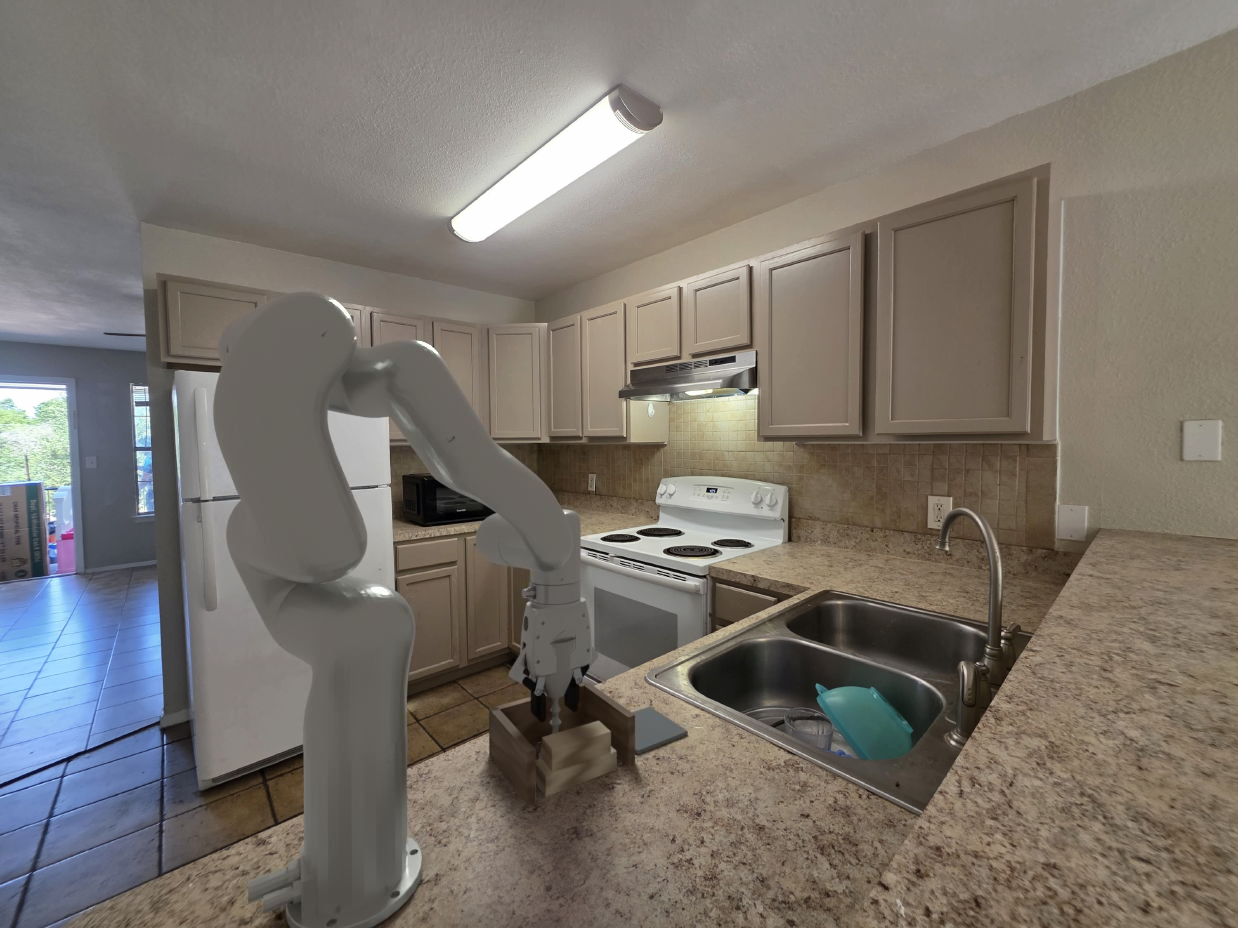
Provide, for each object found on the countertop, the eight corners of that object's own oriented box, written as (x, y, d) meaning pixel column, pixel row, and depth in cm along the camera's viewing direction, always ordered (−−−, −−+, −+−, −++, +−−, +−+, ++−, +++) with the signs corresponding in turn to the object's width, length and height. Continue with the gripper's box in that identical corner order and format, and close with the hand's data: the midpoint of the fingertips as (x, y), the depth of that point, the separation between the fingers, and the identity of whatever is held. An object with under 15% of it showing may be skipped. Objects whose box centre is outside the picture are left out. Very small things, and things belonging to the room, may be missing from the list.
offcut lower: (545, 799, 67) (545, 776, 67) (534, 782, 70) (534, 761, 70) (616, 771, 73) (616, 750, 73) (602, 758, 76) (602, 738, 76)
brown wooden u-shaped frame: (526, 806, 65) (526, 752, 65) (489, 754, 77) (489, 708, 77) (635, 762, 74) (635, 714, 74) (586, 722, 86) (586, 680, 86)
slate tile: (637, 754, 76) (637, 750, 76) (602, 725, 85) (602, 722, 85) (687, 734, 82) (687, 730, 82) (650, 709, 90) (650, 706, 90)
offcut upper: (552, 771, 68) (552, 749, 68) (542, 758, 71) (542, 737, 71) (610, 752, 73) (610, 731, 73) (599, 740, 76) (598, 720, 76)
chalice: (581, 765, 74) (581, 641, 74) (534, 771, 72) (534, 644, 72) (574, 738, 81) (574, 625, 81) (531, 744, 79) (531, 628, 79)
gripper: (511, 606, 69) (511, 741, 69) (616, 589, 78) (616, 708, 78) (492, 594, 75) (492, 718, 75) (591, 580, 84) (591, 690, 84)
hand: (555, 711), depth 77 cm, fingers closed on chalice, 4 cm apart
